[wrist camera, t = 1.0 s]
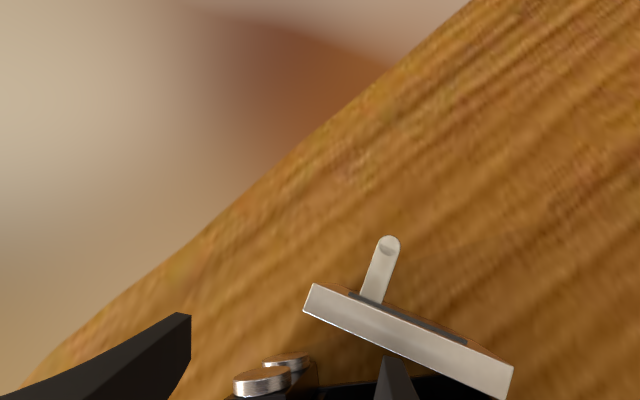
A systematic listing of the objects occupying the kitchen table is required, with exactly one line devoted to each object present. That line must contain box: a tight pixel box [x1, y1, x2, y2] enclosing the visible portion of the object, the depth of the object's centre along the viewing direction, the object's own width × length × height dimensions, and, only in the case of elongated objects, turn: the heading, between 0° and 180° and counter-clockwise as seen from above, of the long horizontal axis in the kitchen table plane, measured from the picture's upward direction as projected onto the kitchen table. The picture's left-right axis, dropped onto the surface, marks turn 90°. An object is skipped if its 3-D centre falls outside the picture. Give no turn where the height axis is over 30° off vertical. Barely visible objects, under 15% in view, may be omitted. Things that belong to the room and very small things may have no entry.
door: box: [303, 235, 514, 400], centre depth 20 cm, size 6×10×8 cm, turn 68°
